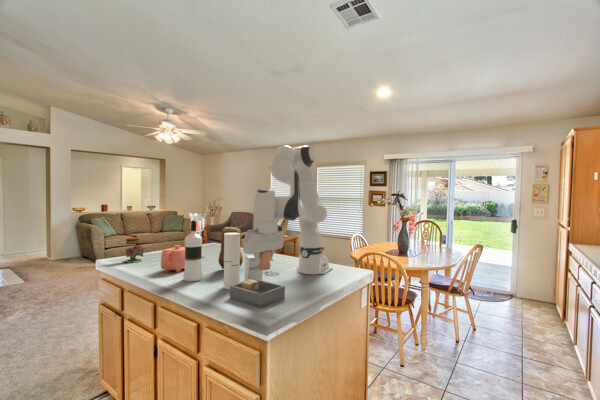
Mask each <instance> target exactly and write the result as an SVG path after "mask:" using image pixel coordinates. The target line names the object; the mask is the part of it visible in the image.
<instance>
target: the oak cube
mask: <svg viewBox="0 0 600 400" xmlns="http://www.w3.org/2000/svg"><path fill="white" fill-rule="evenodd" d="M241 282H242V288H243V289H247V290H250V291H254V292H257V293H258V285H259V281H255V280H251V279H250V280H246V281H245V280H244V281H241Z"/></svg>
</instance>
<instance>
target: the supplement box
mask: <svg viewBox="0 0 600 400" xmlns="http://www.w3.org/2000/svg"><path fill="white" fill-rule="evenodd" d="M250 279H251V280H252V279H258V280H262V281H263V270H260V269H258V264H257V263H256V259H255V257H254V255H253V254H247V255H245V256H244V281H246V280H250Z"/></svg>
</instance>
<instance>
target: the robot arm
mask: <svg viewBox="0 0 600 400" xmlns="http://www.w3.org/2000/svg"><path fill="white" fill-rule="evenodd" d="M314 161H315V152H314V150H313V147H311V146H309V145H302V146H296V147H295V146H294V147H291V146H290V145H282V146H281V145H280V146H279V147H278V148H277V150H276V151H275V154H274V155H273V158H272V161H271V165H270V174H271V175H272V177H273V178H274V179H275V180H276V181H277V182H280V183H284V184H286V185H288V186H289V188H290V191H289V192H290V193H289V194H290V195H289V196H276V192H275V189H272V188H259V189H257V190H256V191H255V193H254V195H255V196H254V201H253V212H254V219H253V229H248V230H247V231H246V232H245V234H244V239H243V246H242V251H243V253H244V254H247V255H254V257H255V259H256V263H257V264H259V263H261V259H260V258H259V255H260V252H264V251H271V255H270V262H271V261H273V256H274V254H275V250H279V249H283V247H284V244H285V243H284V241H285V239H284V238H285V237H284V230H285V228H284V226H283V225H280V224H278V223H277V222H276V221H277V220H286V221H295V220H297V219H298V222H299V223H298V224H299V226H300V247H299V248H300V249H299V253H300V254H299V256H298V265H297V267H296V270H297V272H298V273H301V274H304V275H325V274H327V273H329V272H330V271H332V270H334V268H333V266H331V265H330V264H329V263H330V261H329V258H328V257H327V256H326V255H324V254H323V251H325V249H326V248H325V246H321V236H322V235H321V231H320V229H319V227H318V225H319V223H323V222H324V221H325V220H326V219H327V216H328V211H327V208H326V207H325V206H324V205H323V203H322V200H321V198H320V195H319V192H318V190H317V185H316V180H315V176H314V171H313V168H312V165H313V163H314Z"/></svg>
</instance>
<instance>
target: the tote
mask: <svg viewBox="0 0 600 400" xmlns="http://www.w3.org/2000/svg"><path fill="white" fill-rule="evenodd" d="M252 280H255V281H259V285H258V293H257V292H254V291H250V290H247V289H243V288H242V282H243V281H240V282H239V283H238V284H235V285H231V286H230V289H229V298H230V299H233V300H235V301H237V302H241V303H244V304H248V305H251V306H253V307H256V308H260V309H263V308H264V307H265V308H266V306H269V305H272V304H274V303H277V302H279V301H282V300H284V299H285V297H286V296H285V295H286V286H285V285H281V284H277V283H273V282H270V281H266V280H263V279H262V280H258V279H252Z"/></svg>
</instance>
